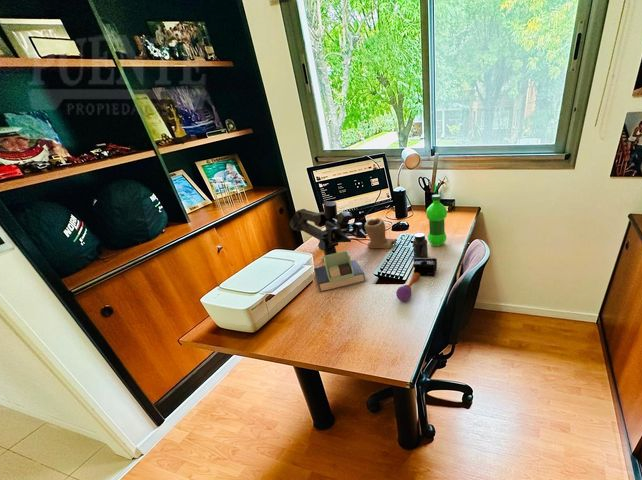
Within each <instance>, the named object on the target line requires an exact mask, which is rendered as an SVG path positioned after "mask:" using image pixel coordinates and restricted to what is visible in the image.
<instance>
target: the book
mask: <svg viewBox="0 0 642 480" xmlns="http://www.w3.org/2000/svg"><path fill="white" fill-rule="evenodd" d="M351 264H352V269H353V273H354V277H353V278H348V279H344V280H340V281H336V282H331V283H330V281H329V279H328V275H327V271H326V267H325V265H324V266H319V267H314V268H313V270H314V273H315V277H316V278H315V279H316V281H317V285H318V288H319V291H320V292H321V293H323V292H327V291H329V290H334V289H338V288H343V287H347V286H351V285H355V284H360V283H363V282H366V278H365V272H364V271H363V269H362V267H361V266H360V264H359V263H358V260H357V259H351Z"/></svg>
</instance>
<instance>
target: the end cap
mask: <svg viewBox="0 0 642 480" xmlns="http://www.w3.org/2000/svg"><path fill="white" fill-rule="evenodd" d="M412 267H413V274H414V273H419V274H420V277H426V278H429V277H431V278H434V277H435V276H436V272H437V271H438V270H437V269H438V259H437V258H436V257H428V258H414V257H413V265H412Z"/></svg>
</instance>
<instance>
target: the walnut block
mask: <svg viewBox="0 0 642 480" xmlns="http://www.w3.org/2000/svg"><path fill="white" fill-rule="evenodd" d="M339 270H340V274H341V276H343V275H347V274H351V270H350V266H349V264H348V263H346V264H341V265H339Z"/></svg>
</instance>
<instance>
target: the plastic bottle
mask: <svg viewBox="0 0 642 480" xmlns="http://www.w3.org/2000/svg"><path fill="white" fill-rule="evenodd" d="M441 198H442V197H441V194H432V195H431V201H432V203H431V204H429V206H428V207H427V208H426V211H425V212H426V218H427V219H428V226H429V232H428V234H427V241H428V242H429V244H431V245H432V246H434V247H440V246H442V245H443V244H444V243H446V241H447V234H446V232H445V231H446V230H445V220H446V218H447V216H448V211H447V208H446V206H445V205H444V204H442V203H441V202H440V201H441V200H442V199H441Z"/></svg>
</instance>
